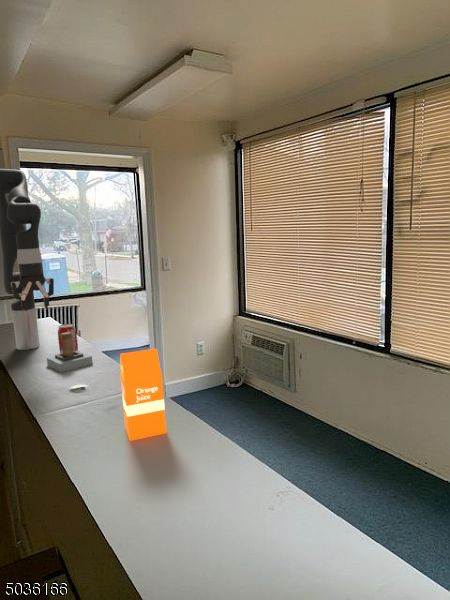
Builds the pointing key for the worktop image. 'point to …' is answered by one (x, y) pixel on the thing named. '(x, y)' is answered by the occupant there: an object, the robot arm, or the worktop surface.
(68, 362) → the socket
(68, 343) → the dowel
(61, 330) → the soda can
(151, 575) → the worktop surface
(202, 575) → the worktop surface
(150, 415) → the orange juice
